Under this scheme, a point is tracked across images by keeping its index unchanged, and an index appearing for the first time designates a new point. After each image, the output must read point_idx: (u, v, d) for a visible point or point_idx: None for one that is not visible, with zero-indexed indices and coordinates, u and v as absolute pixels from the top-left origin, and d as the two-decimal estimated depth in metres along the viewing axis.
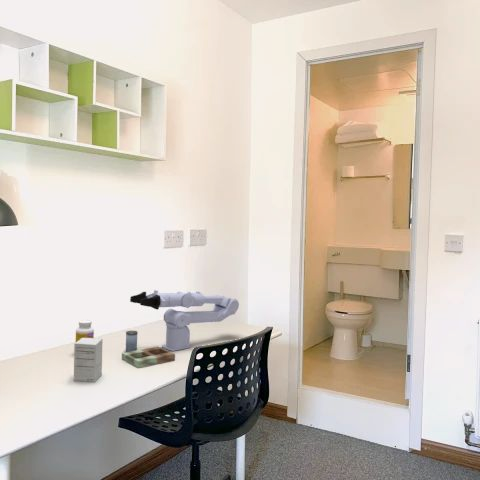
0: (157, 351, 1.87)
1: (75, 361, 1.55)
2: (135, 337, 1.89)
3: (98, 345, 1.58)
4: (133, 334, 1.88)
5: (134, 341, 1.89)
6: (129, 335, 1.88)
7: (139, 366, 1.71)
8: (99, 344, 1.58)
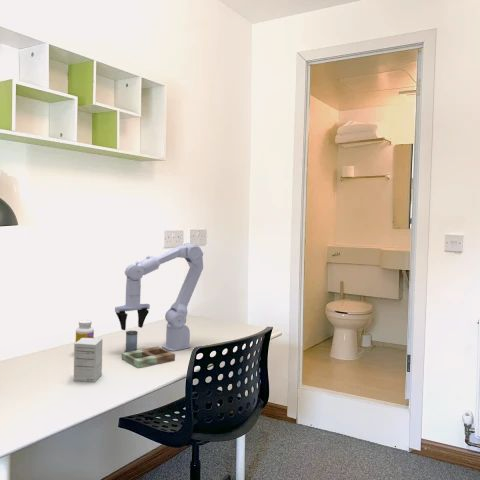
0: (157, 351, 1.87)
1: (75, 361, 1.55)
2: (135, 337, 1.89)
3: (98, 345, 1.58)
4: (133, 334, 1.88)
5: (134, 341, 1.89)
6: (129, 335, 1.88)
7: (139, 366, 1.71)
8: (99, 344, 1.58)
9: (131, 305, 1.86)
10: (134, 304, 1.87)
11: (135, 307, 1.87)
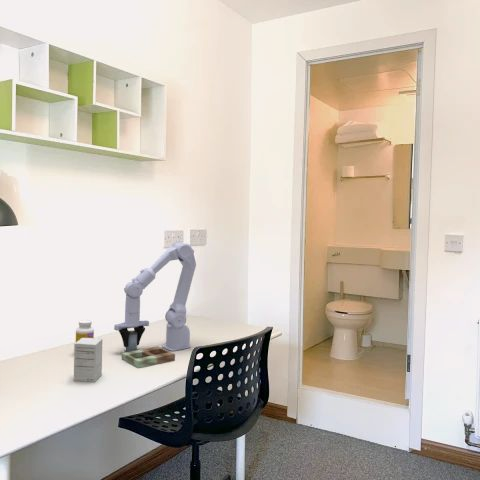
0: (157, 351, 1.87)
1: (75, 361, 1.55)
2: (135, 337, 1.89)
3: (98, 345, 1.58)
4: (133, 334, 1.88)
5: (134, 341, 1.89)
6: (129, 335, 1.88)
7: (139, 366, 1.71)
8: (99, 344, 1.58)
9: (130, 323, 1.87)
10: (133, 322, 1.87)
11: (134, 325, 1.87)
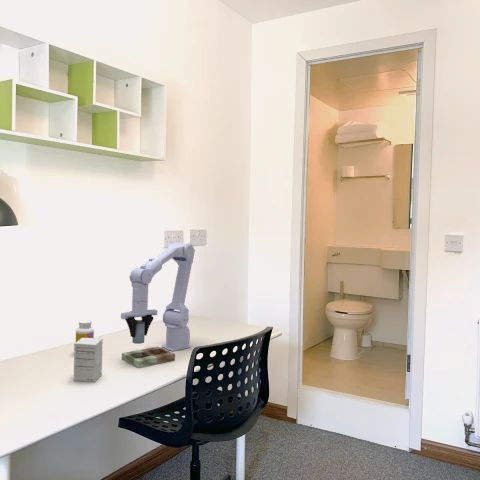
0: (157, 351, 1.87)
1: (75, 361, 1.55)
2: (142, 326, 1.78)
3: (98, 345, 1.58)
4: (140, 323, 1.77)
5: (141, 331, 1.77)
6: (136, 324, 1.77)
7: (139, 366, 1.71)
8: (99, 344, 1.58)
9: (138, 311, 1.76)
10: (141, 310, 1.76)
11: (142, 313, 1.76)
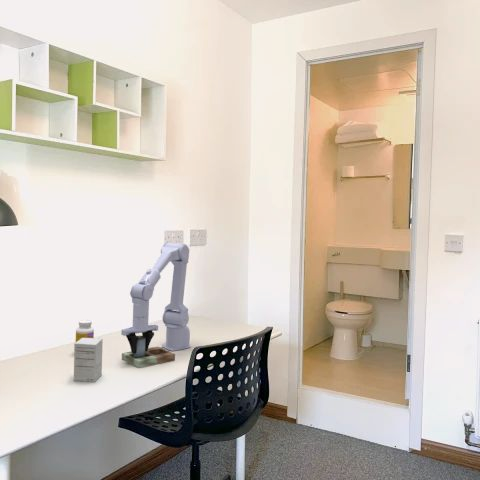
0: (157, 351, 1.87)
1: (75, 361, 1.55)
2: (143, 342, 1.77)
3: (98, 345, 1.58)
4: (141, 339, 1.76)
5: (142, 347, 1.76)
6: (137, 340, 1.76)
7: (139, 366, 1.71)
8: (99, 344, 1.58)
9: (139, 327, 1.75)
10: (142, 326, 1.75)
11: (143, 329, 1.75)
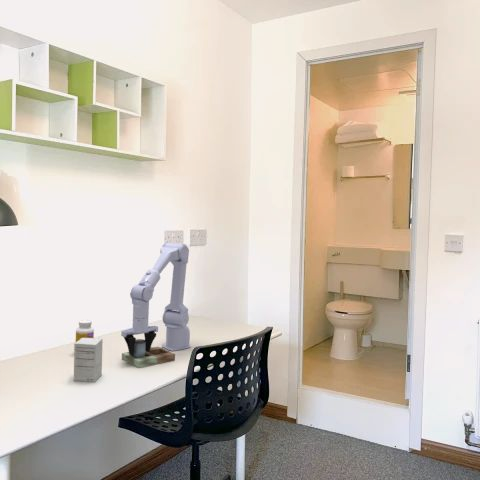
0: (157, 351, 1.87)
1: (75, 361, 1.55)
2: (143, 346, 1.77)
3: (98, 345, 1.58)
4: (141, 343, 1.76)
5: (142, 351, 1.76)
6: (137, 344, 1.76)
7: (139, 366, 1.71)
8: (99, 344, 1.58)
9: (139, 328, 1.75)
10: (142, 327, 1.75)
11: (143, 330, 1.75)
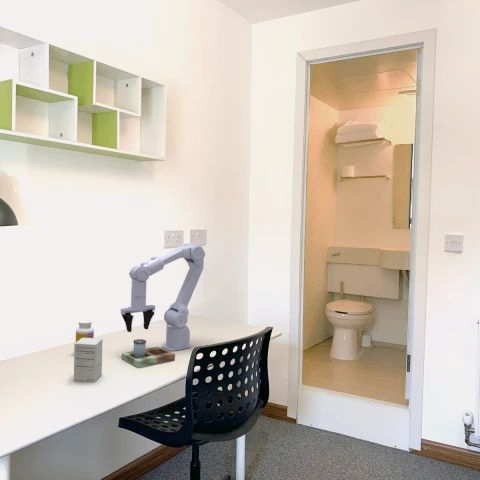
0: (157, 351, 1.87)
1: (75, 361, 1.55)
2: (143, 346, 1.77)
3: (98, 345, 1.58)
4: (141, 343, 1.76)
5: (142, 351, 1.76)
6: (137, 344, 1.76)
7: (139, 366, 1.71)
8: (99, 344, 1.58)
9: (137, 307, 1.84)
10: (140, 306, 1.85)
11: (141, 309, 1.85)
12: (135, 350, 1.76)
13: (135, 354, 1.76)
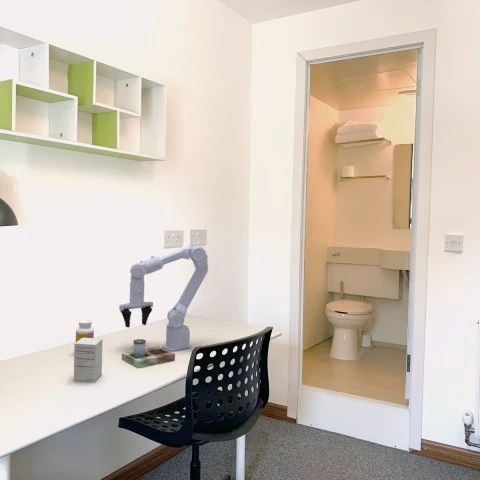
0: (157, 351, 1.87)
1: (75, 361, 1.55)
2: (143, 346, 1.77)
3: (98, 345, 1.58)
4: (141, 343, 1.76)
5: (142, 351, 1.76)
6: (137, 344, 1.76)
7: (139, 366, 1.71)
8: (99, 344, 1.58)
9: (135, 303, 1.91)
10: (138, 302, 1.91)
11: (139, 305, 1.91)
12: (135, 350, 1.76)
13: (135, 354, 1.76)
